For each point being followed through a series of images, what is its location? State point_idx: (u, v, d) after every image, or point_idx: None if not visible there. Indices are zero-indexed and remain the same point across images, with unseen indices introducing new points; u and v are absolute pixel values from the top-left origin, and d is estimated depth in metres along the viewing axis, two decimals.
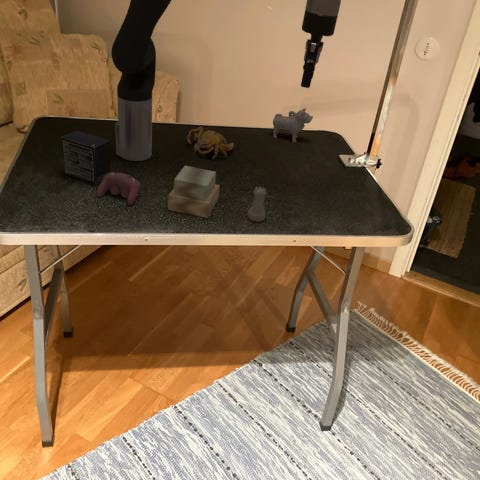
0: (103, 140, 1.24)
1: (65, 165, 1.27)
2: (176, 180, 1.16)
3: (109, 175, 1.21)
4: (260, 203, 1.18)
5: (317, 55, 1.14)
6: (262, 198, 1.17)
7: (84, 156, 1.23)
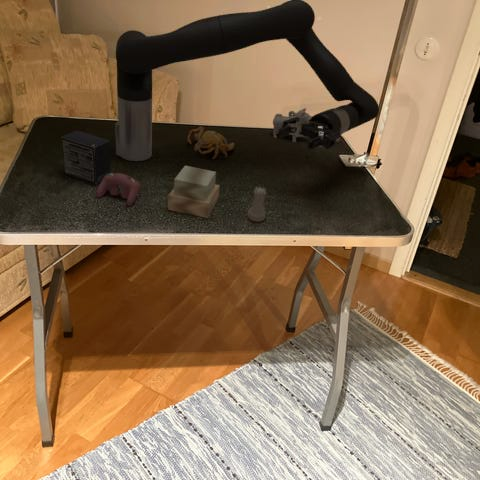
0: (103, 140, 1.24)
1: (65, 165, 1.27)
2: (176, 180, 1.16)
3: (108, 176, 1.20)
4: (260, 203, 1.18)
5: None
6: (262, 198, 1.17)
7: (84, 156, 1.23)
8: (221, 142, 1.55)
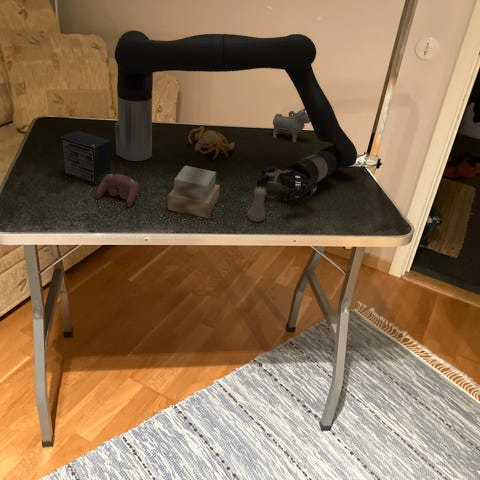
0: (103, 140, 1.24)
1: (65, 165, 1.27)
2: (176, 180, 1.16)
3: (108, 176, 1.20)
4: (260, 203, 1.18)
5: None
6: (262, 198, 1.17)
7: (85, 156, 1.23)
8: (222, 142, 1.55)
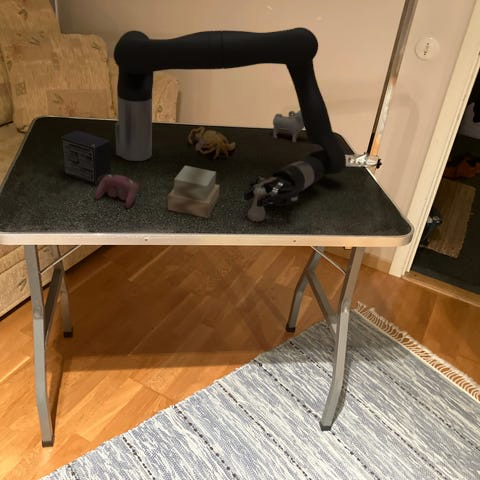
0: (103, 140, 1.24)
1: (65, 165, 1.27)
2: (176, 180, 1.16)
3: (107, 177, 1.20)
4: None
5: None
6: None
7: (85, 156, 1.23)
8: (222, 142, 1.55)
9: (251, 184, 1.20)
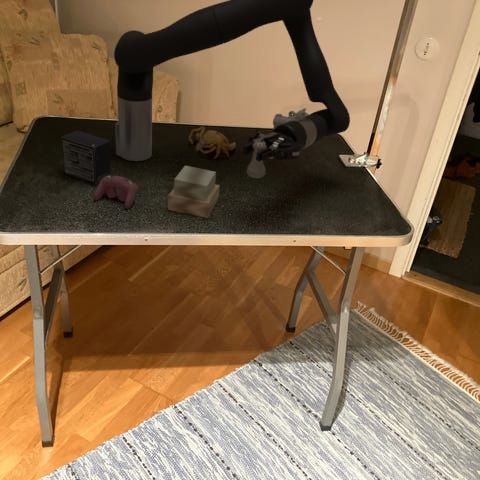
0: (103, 140, 1.24)
1: (65, 165, 1.27)
2: (176, 180, 1.16)
3: (106, 178, 1.19)
4: None
5: None
6: None
7: (84, 156, 1.23)
8: (222, 142, 1.55)
9: (250, 139, 1.14)
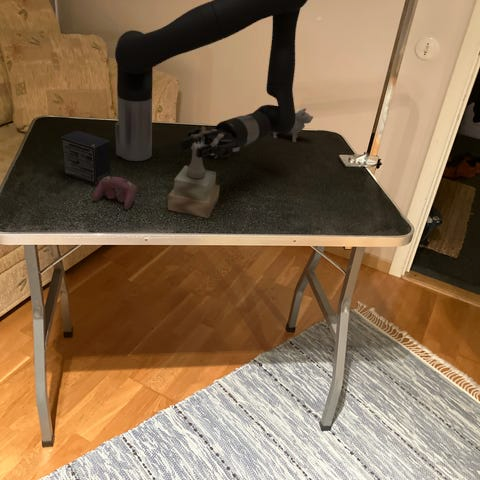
0: (103, 140, 1.24)
1: (65, 165, 1.27)
2: (176, 180, 1.16)
3: (105, 179, 1.19)
4: (198, 159, 1.15)
5: None
6: None
7: (84, 156, 1.23)
8: None
9: (188, 134, 1.18)
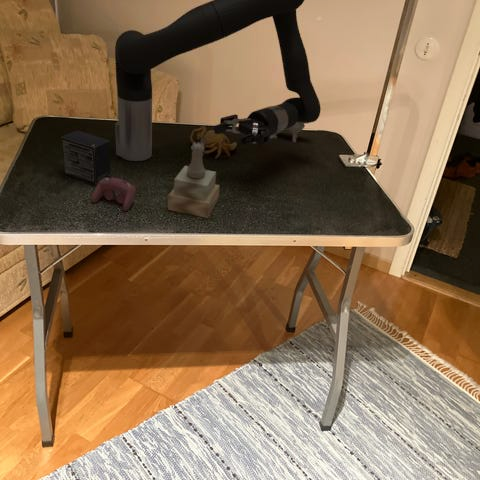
0: (103, 140, 1.24)
1: (65, 165, 1.27)
2: (176, 180, 1.16)
3: (104, 180, 1.18)
4: (198, 159, 1.15)
5: None
6: (200, 154, 1.15)
7: (84, 156, 1.23)
8: (223, 142, 1.55)
9: (221, 120, 1.28)
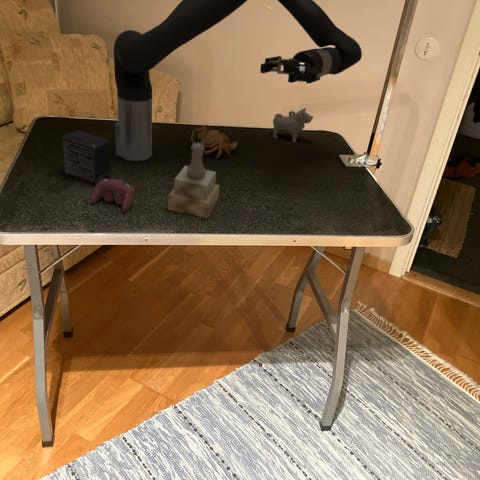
0: (103, 140, 1.24)
1: (65, 165, 1.27)
2: (176, 180, 1.16)
3: (102, 181, 1.18)
4: (198, 159, 1.15)
5: None
6: (200, 154, 1.15)
7: (84, 156, 1.23)
8: (224, 141, 1.55)
9: (266, 60, 1.25)
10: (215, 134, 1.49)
